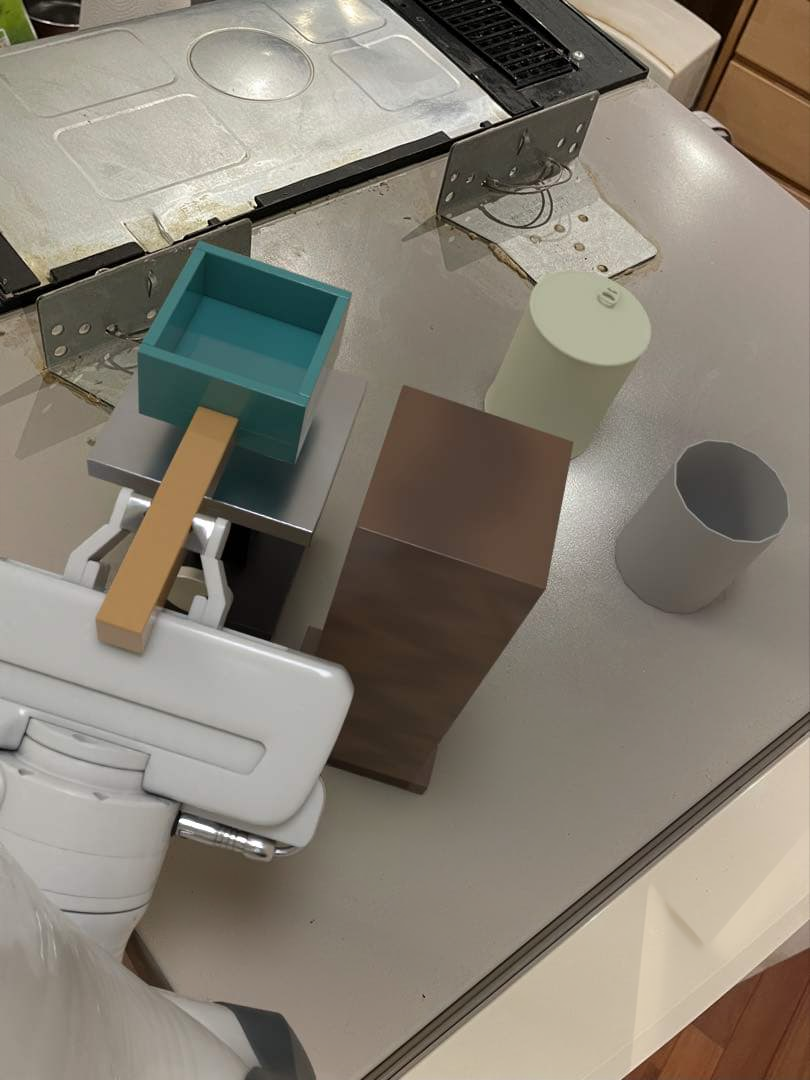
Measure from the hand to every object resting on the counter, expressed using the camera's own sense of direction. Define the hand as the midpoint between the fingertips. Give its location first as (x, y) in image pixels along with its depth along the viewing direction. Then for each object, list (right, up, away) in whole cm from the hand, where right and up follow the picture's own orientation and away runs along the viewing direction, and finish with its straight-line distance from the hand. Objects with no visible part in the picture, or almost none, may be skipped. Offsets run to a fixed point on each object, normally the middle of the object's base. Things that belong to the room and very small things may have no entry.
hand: (177, 504), depth 44 cm
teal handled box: (0, +2, +3) cm, 4 cm away
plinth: (+7, -13, +19) cm, 24 cm away
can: (+21, +8, +36) cm, 42 cm away
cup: (+30, -4, +31) cm, 43 cm away
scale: (-2, -3, +22) cm, 23 cm away
